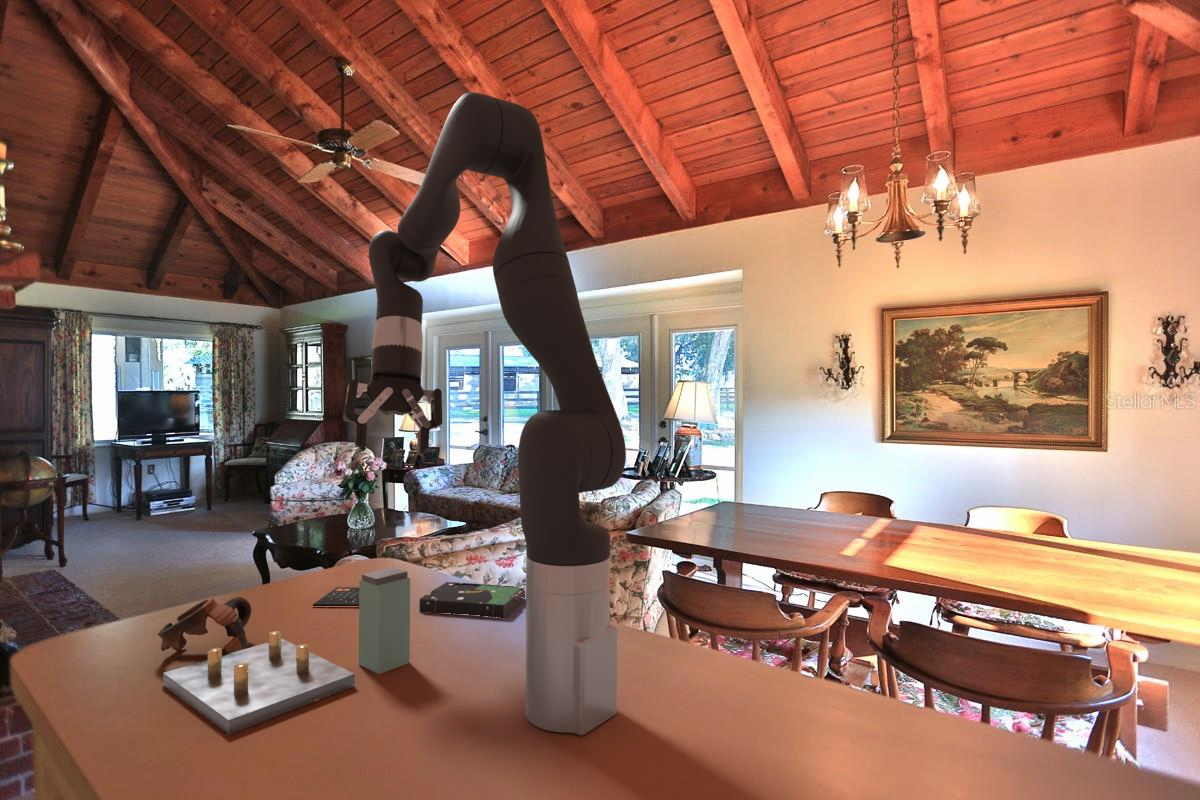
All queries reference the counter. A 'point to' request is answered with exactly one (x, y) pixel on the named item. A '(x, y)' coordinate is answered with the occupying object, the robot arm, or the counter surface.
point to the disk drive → (473, 599)
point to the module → (384, 619)
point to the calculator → (340, 597)
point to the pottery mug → (196, 623)
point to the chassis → (256, 682)
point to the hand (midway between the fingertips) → (392, 452)
